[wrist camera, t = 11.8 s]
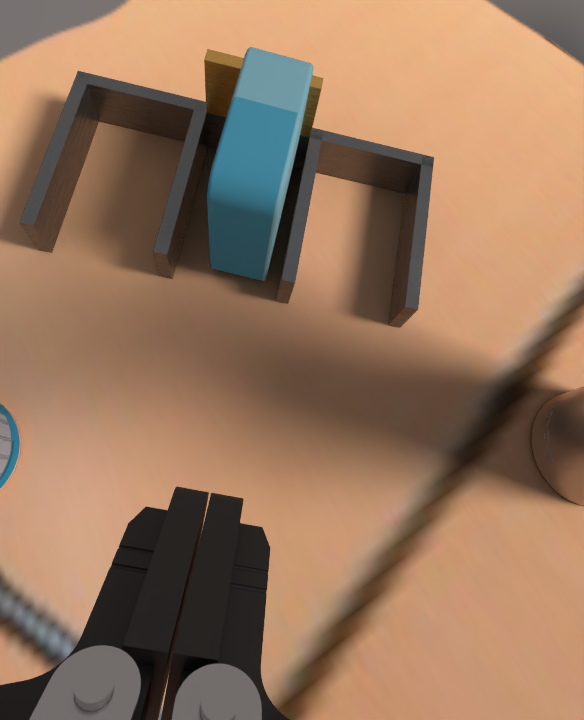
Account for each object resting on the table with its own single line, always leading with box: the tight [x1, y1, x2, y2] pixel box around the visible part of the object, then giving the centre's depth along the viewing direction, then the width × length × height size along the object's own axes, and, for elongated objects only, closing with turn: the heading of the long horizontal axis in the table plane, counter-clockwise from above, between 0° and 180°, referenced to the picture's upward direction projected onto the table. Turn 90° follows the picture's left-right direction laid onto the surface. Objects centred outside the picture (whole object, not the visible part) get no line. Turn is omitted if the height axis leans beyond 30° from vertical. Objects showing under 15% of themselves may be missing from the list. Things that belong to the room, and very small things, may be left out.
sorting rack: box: [19, 49, 434, 327], centre depth 38 cm, size 30×14×9 cm, turn 80°
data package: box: [207, 47, 313, 281], centre depth 37 cm, size 12×4×12 cm, turn 169°
